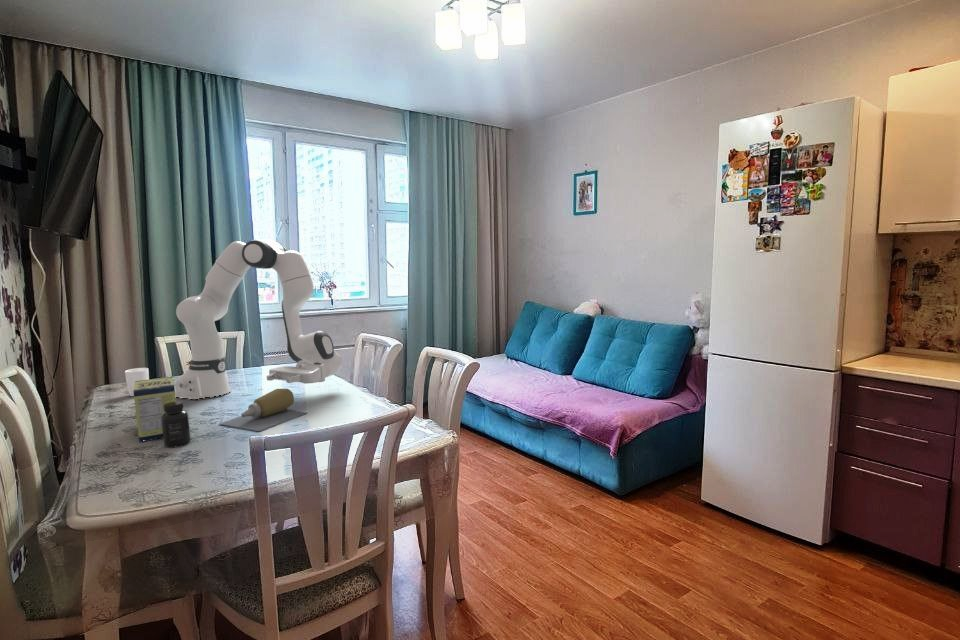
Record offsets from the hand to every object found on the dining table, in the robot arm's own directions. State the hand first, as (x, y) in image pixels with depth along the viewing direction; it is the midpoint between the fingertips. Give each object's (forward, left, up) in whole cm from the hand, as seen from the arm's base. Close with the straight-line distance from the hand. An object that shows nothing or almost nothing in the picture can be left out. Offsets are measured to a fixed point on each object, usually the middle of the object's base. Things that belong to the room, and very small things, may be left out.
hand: (277, 379), depth 183 cm
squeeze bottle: (+4, 0, -6) cm, 7 cm away
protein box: (-24, -28, -11) cm, 38 cm away
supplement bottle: (-10, -36, -11) cm, 39 cm away
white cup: (-69, +9, -11) cm, 70 cm away
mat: (+2, -11, -10) cm, 15 cm away
